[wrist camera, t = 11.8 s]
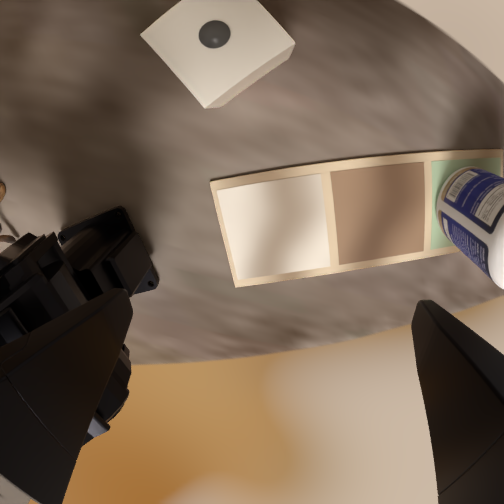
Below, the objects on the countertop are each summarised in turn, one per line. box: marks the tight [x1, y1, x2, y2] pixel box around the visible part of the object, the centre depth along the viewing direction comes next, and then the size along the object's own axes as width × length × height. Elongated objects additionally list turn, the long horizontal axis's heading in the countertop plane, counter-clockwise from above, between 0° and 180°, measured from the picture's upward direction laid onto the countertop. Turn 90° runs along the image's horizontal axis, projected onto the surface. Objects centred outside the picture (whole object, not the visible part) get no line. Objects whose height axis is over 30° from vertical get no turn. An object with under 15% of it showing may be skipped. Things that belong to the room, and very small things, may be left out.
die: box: [140, 0, 296, 108], centre depth 14 cm, size 5×5×5 cm
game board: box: [210, 149, 503, 287], centre depth 20 cm, size 21×8×1 cm, turn 101°
